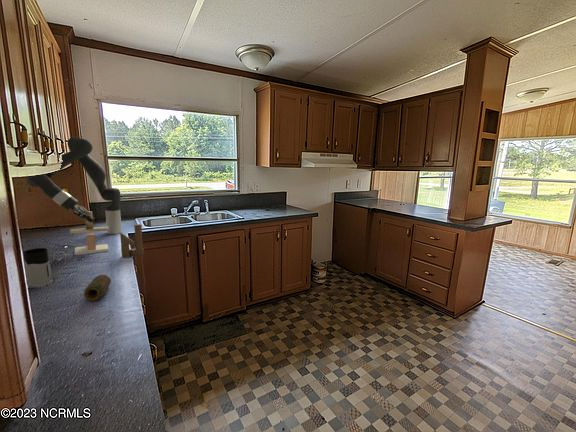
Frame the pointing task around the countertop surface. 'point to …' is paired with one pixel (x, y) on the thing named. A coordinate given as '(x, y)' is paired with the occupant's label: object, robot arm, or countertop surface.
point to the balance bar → (88, 226)
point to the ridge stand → (91, 246)
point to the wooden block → (127, 241)
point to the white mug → (38, 266)
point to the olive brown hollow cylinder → (97, 287)
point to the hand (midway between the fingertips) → (93, 220)
